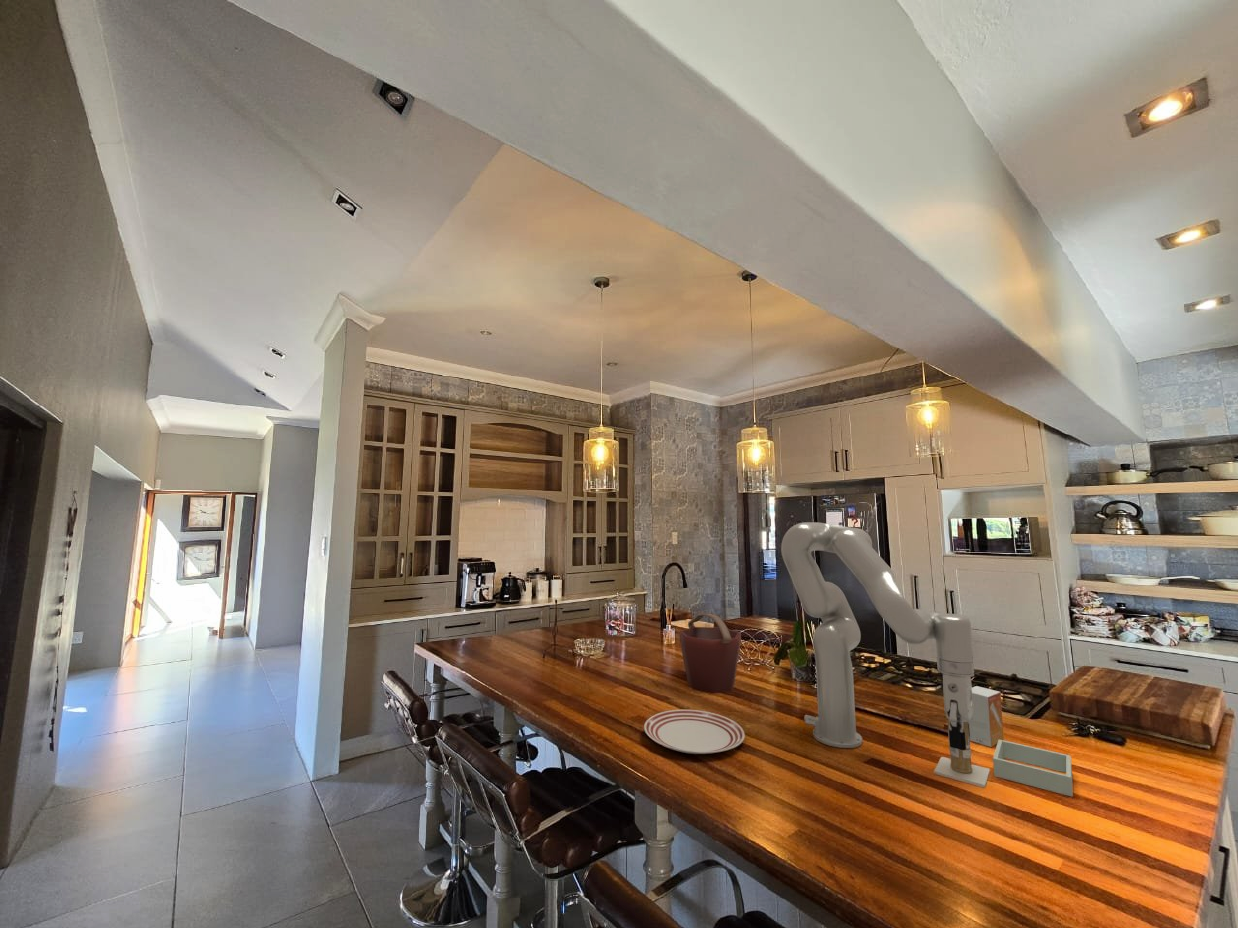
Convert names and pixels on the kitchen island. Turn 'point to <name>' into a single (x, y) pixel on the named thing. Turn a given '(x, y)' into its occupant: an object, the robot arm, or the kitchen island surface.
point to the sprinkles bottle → (961, 752)
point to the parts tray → (1033, 774)
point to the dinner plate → (694, 731)
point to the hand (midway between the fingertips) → (960, 742)
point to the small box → (986, 717)
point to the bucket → (710, 655)
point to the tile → (975, 777)
